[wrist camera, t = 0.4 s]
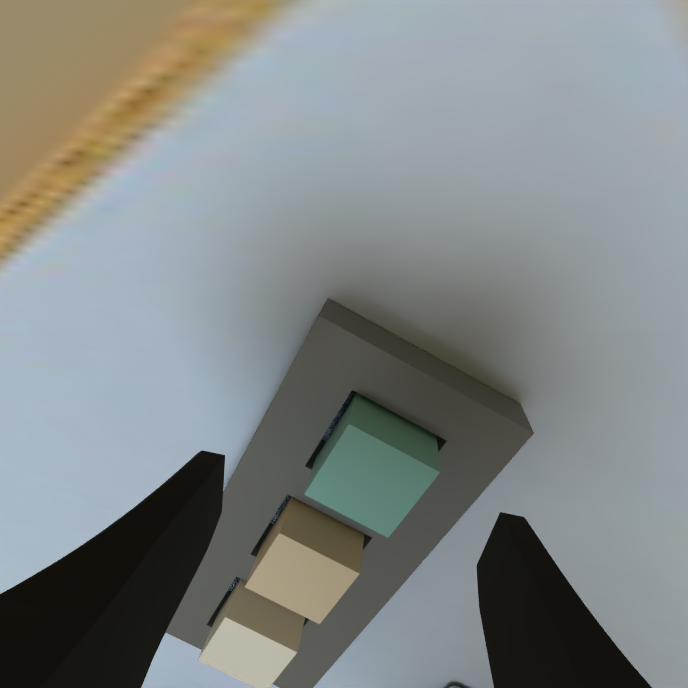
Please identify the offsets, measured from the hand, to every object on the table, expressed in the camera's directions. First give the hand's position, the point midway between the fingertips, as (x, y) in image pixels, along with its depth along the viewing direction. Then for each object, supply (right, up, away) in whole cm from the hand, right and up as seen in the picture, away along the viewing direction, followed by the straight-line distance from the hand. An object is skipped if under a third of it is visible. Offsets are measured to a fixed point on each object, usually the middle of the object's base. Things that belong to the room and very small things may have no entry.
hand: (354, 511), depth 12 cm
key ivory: (-5, -11, +14) cm, 18 cm away
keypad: (-2, -5, +13) cm, 14 cm away
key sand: (-2, -5, +11) cm, 13 cm away
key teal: (+1, 0, +9) cm, 9 cm away
